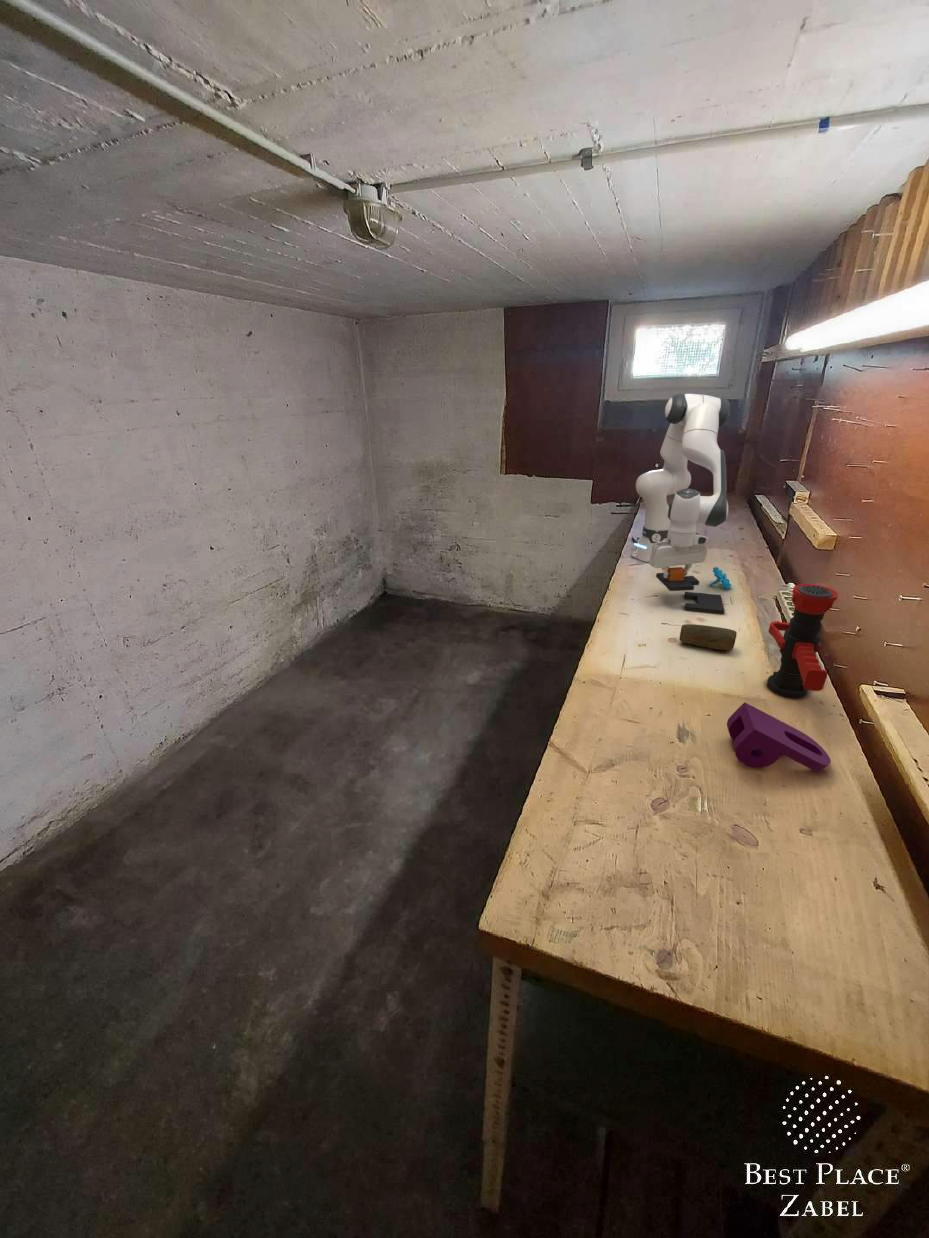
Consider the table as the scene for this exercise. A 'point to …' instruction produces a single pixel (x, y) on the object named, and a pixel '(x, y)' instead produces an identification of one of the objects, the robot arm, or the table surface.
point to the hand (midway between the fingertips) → (675, 576)
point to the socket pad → (704, 603)
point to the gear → (721, 578)
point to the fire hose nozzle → (801, 643)
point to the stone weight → (708, 636)
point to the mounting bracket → (771, 740)
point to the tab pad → (678, 580)
